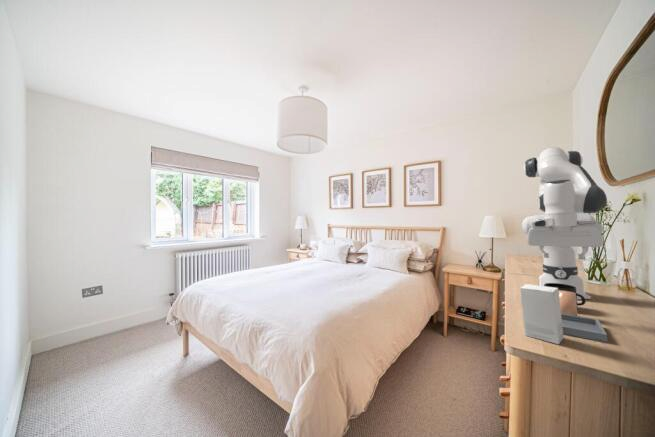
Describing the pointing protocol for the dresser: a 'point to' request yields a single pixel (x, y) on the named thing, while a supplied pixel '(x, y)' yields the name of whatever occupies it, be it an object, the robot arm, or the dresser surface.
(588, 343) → the dresser surface
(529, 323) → the skincare box
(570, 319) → the tray
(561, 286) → the mug
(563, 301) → the pinkish-tan rounded block
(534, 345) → the dresser surface
